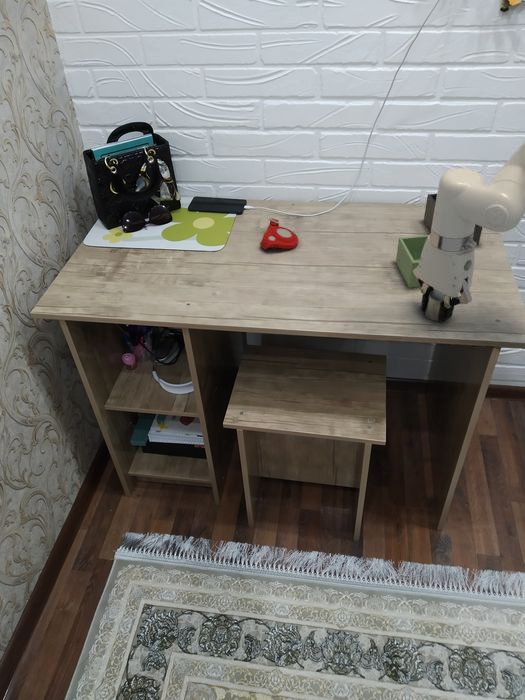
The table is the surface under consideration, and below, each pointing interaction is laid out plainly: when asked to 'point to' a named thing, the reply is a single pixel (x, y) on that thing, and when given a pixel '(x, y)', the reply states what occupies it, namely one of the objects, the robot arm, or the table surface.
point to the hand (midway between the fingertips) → (435, 312)
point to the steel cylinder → (434, 304)
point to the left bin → (410, 257)
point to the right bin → (430, 213)
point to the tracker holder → (278, 236)
